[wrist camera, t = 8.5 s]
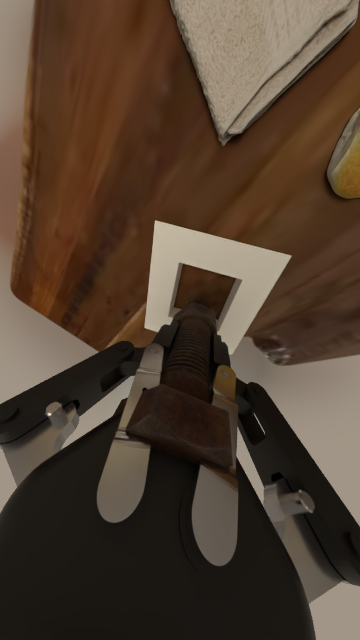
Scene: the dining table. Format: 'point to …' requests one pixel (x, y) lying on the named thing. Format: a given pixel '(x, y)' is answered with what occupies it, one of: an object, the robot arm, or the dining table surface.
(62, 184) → the dining table surface
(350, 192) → the bread roll
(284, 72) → the washcloth
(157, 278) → the collar block
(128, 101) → the dining table surface
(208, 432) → the bolt
